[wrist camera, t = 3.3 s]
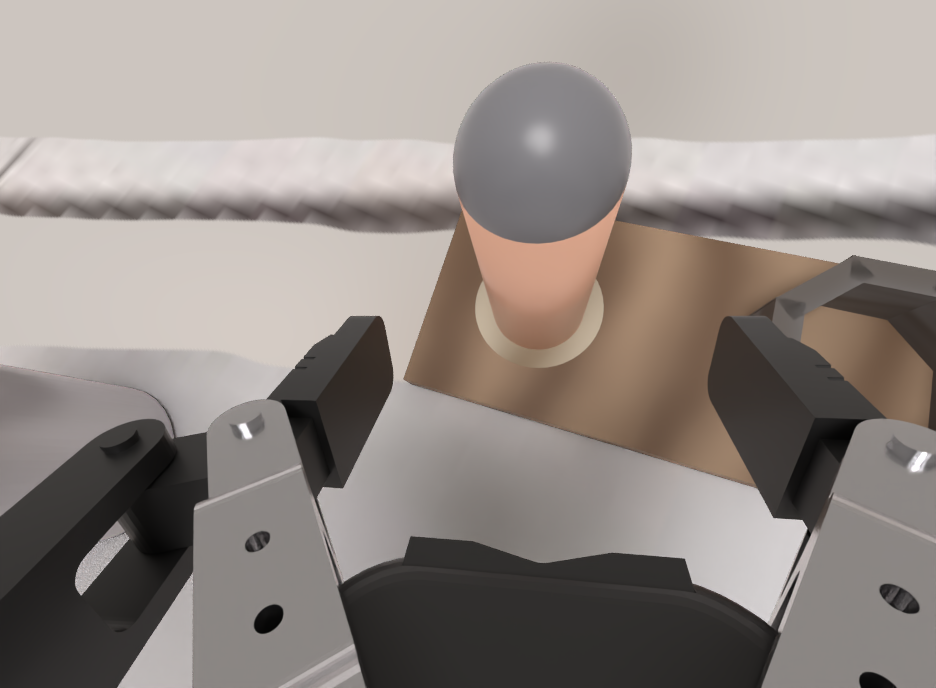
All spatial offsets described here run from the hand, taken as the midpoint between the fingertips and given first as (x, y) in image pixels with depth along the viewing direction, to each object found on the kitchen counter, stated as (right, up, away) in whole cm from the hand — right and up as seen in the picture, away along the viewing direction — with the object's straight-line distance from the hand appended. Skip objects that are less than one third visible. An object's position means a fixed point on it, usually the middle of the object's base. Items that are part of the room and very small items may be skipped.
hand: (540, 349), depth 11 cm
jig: (+10, 0, +13) cm, 16 cm away
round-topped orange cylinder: (+2, +2, +13) cm, 14 cm away
